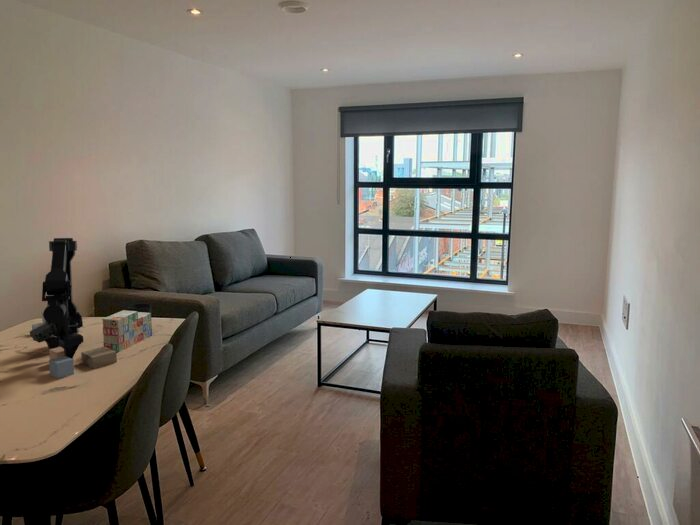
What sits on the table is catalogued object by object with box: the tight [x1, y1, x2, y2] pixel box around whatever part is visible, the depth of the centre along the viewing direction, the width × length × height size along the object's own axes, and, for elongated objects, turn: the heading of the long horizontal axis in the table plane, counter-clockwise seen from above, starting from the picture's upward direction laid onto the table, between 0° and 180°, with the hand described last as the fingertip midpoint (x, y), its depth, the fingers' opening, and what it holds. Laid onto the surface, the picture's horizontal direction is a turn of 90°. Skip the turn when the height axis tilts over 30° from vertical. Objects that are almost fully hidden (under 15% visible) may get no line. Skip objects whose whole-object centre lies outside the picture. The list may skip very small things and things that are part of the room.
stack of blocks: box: [102, 309, 153, 353], centre depth 196 cm, size 21×6×12 cm, turn 169°
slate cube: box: [48, 356, 75, 379], centre depth 164 cm, size 5×5×5 cm
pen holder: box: [126, 302, 152, 314], centre depth 213 cm, size 9×9×10 cm
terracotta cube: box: [48, 346, 74, 360], centre depth 173 cm, size 5×5×5 cm
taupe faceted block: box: [80, 346, 118, 369], centre depth 175 cm, size 8×8×4 cm
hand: (61, 359), depth 173 cm, fingers open, 9 cm apart
